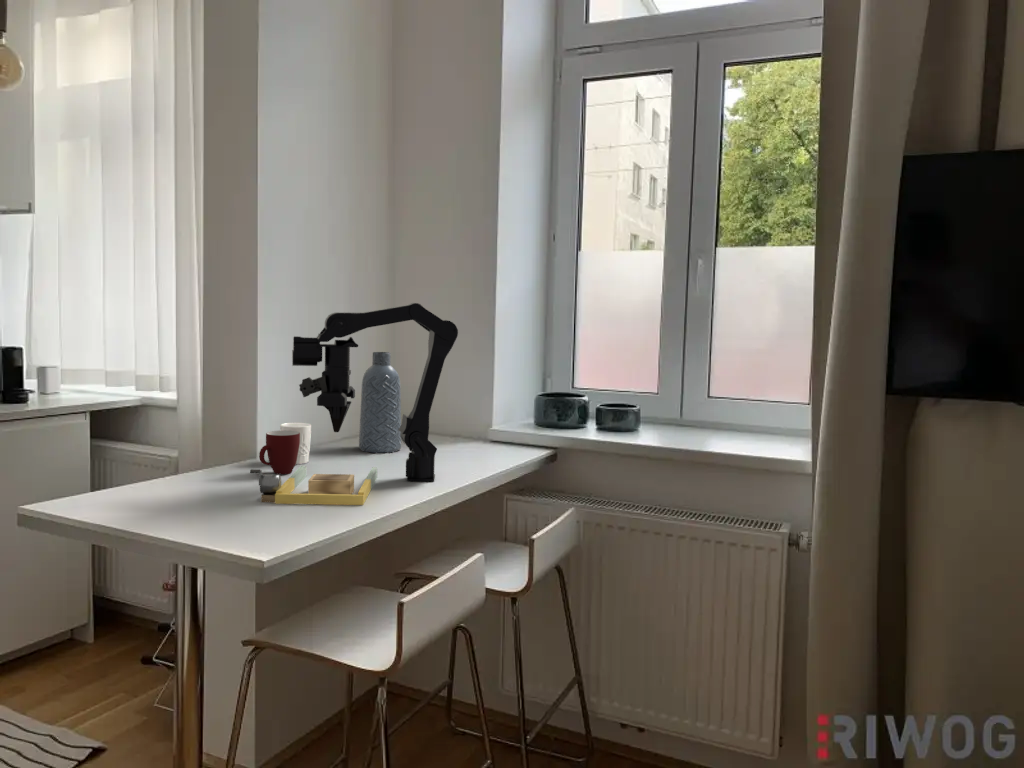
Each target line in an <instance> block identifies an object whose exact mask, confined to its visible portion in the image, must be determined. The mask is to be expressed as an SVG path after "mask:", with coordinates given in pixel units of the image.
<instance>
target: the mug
mask: <svg viewBox="0 0 1024 768" xmlns="http://www.w3.org/2000/svg"><path fill="white" fill-rule="evenodd" d="M299 445H300V433H299V432H297V431H286V430H283V431H281V430H270V431H267V432H266V433H265V445H263V446H262V447H261V448H260V450H259V455H258V457H259V460H260V463H261V464H263V465H264V466H265V465H266V466H270V467H271V469H272V471H273V473H274V475H289V474H291V473H292V472H293V471H294V468H295V466H296V465H297V464H296V461H297V456H298V451H299ZM266 452H267V459H268V462H267V461H266V459H265V454H266Z"/></svg>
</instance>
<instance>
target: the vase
mask: <svg viewBox="0 0 1024 768" xmlns="http://www.w3.org/2000/svg"><path fill="white" fill-rule="evenodd" d="M391 358H392V357H391V352H389V351H386V352H385V351H373V352H372V364H371V366H369V367H368V368H367V370H365V372H364V373H363V376H362V381H361V393H360V395H361V396H360V414H359V432H358V433H359V434H358V435H359V436H358V448H359V450H360V451H362V452H367V453H372V454H373V453H374V454H379V453H380V454H386V453H395V452H398V451H401V449H402V439H401V437H400V433H401V432H400V431H399V430H398V429H399V428H400V427H401V424H402V405H401V403H402V399H401V380H400V375H399V373H398V372H397V370H396V369H395V368H394V367H393V366H392V365H391Z"/></svg>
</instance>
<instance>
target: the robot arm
mask: <svg viewBox="0 0 1024 768" xmlns="http://www.w3.org/2000/svg"><path fill="white" fill-rule="evenodd" d="M408 321H414V322H415V323H417V324H418V325H419V326H420V327H422V328H423V329H424V330H426V332H427V331H428V333H429V334H428V339H427V340H428V343H427V344H428V347H427V348H428V351H427V358H426V362H425V365H424V368H423V371H422V374H421V380H420V382H419V386H418V388H417V389H418V390H417V394H416V397H415V400H414V403H413V406H412V409H411V411H410V413H409V414H408V415H407V414H403V415H402V417H401V427H400V428H399V429H398V430H399V431H400V432H401V433H400V437H401V442H403V444H404V445H405V446H406V447H407V448H408V450H409V451H410V452H408V458H406V460H405V477H406V479H407V480H406V481H408V482H409V481H410V482H411V481H412V482H434V481H435V480H436V479H435V478H436V474H435V465H436V463H435V461H436V460H435V459H436V457H435V456H436V453H437V451H438V448H437V447H436V446H435V445H434V444H433V443H432V442H431V441H430V440H429V433H430V413H431V409H432V406H433V403H434V400H435V395H436V393H437V388H438V385H439V382H440V377H441V375H442V374H441V373H442V371H443V367H444V363H445V360H446V358H447V356H448V355H449V353H450V351H451V350H452V348H453V346H455V345H454V344H455V343H456V340H457V338H458V335H459V329H458V328H457V325H456V324H455V323H454V322H453V321H451V320H447V319H442V318H440V317H438V316H437V315H436V314H434V313H432V312H431V311H430V310H428V309H426V308H425V307H424V306H423V305H422V304H421V303H417V302H412V303H409V304H405V305H400V306H394V307H388V308H383V309H376V310H370V311H364V312H340V311H339V312H332V313H330V314H328V316H327V317H326V318H325V321H324V327H323V329H321V331H320V332H319V333H318V335H317V336H316V337H309V336H307V337H306V336H305V337H303V336H295V335H294V336H293V337H292V339H293V342H292V350H291V351H292V352H291V356H292V357H291V362H292V365H291V366H292V367H293V366H294V367H295V366H296V367H299V366H300V367H318V363H321V362H323V347H324V370H323V371H322V372H321V376H319V377H316V378H314V379H312V378H311V377H306V378H303V379H302V381H301V383H300V384H298V386H299V391H300V392H301V394H302V397H303V398H306V397H308V396H310V395H311V394H315V393H319V392H321V393H320V394H319V395H318V396H317V397H316V406H318V407H324V408H325V409H326V410H327V411H328V412H329V416H330V421H331V424H332V429H333V432H334V433H339V432H340V430H341V429H342V425H343V423H344V420H345V418H346V416H347V413H348V411H349V409H350V406H351V404H352V401H351V400H350V401H349V400H348V398H350V399H355V397H356V390H355V388H354V387H353V386H352V385H350V376H351V374H352V370H351V369H350V366H351V365H350V364H351V363H350V361H351V360H350V359H351V357H350V356H351V353H350V351H351V350H350V349H351V348H358V347H359V344H358V343H356V341H355V340H354V339H353V337H352V336H351V335H353V334H356V333H358V332H361V331H362V330H366V329H368V328H374V327H379V326H386V325H390V324H397V323H402V322H408ZM348 336H349V337H348ZM345 337H348V338H347V339H340V338H345ZM335 338H337V339H335ZM333 339H334V343H327V342H330V341H331V340H333Z"/></svg>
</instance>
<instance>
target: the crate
mask: <svg viewBox="0 0 1024 768" xmlns="http://www.w3.org/2000/svg"><path fill="white" fill-rule="evenodd" d="M307 487H308V490H307V491H308V492H307V494H353V493H354V491H355V474H350V473H349V474H348V473H347V474H346V473H345V474H341V473H340V474H339V473H337V474H336V473H335V474H334V473H314V474H313V475H312V476H311V477H310V478H309V479H308V486H307Z"/></svg>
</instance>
